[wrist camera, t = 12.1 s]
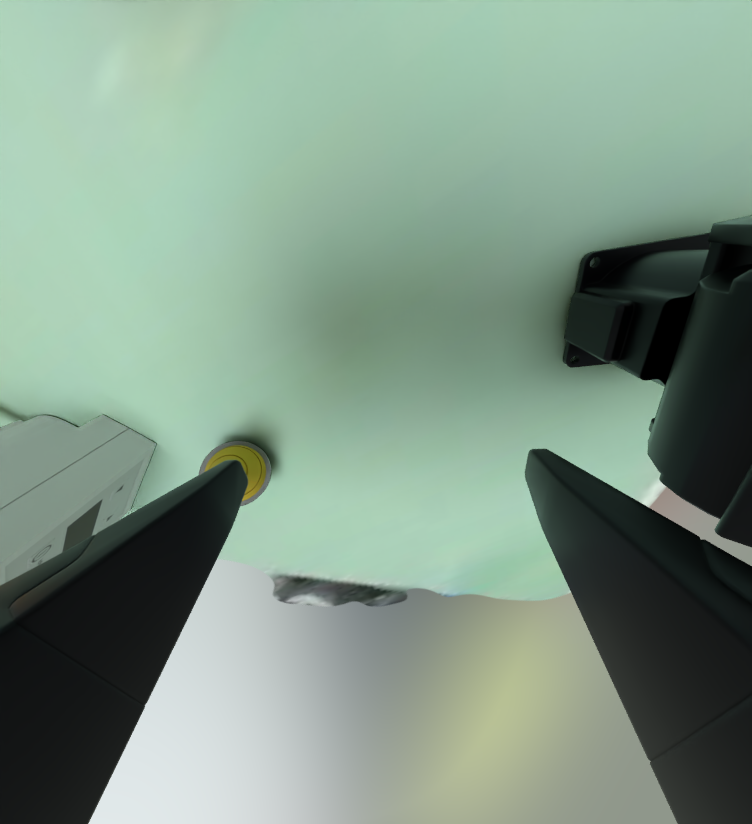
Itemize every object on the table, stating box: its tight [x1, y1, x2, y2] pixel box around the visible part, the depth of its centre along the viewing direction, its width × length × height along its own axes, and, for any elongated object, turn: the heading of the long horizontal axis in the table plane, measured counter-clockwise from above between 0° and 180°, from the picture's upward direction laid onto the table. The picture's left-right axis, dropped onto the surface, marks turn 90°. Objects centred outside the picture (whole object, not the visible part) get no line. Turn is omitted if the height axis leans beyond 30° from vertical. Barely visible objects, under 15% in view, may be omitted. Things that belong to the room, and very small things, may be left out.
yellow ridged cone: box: [199, 441, 271, 506], centre depth 21 cm, size 5×5×10 cm
